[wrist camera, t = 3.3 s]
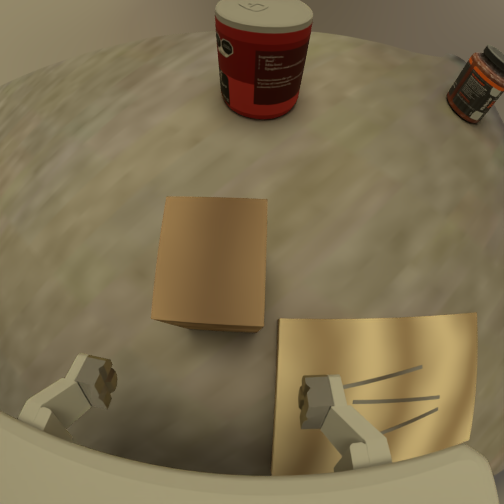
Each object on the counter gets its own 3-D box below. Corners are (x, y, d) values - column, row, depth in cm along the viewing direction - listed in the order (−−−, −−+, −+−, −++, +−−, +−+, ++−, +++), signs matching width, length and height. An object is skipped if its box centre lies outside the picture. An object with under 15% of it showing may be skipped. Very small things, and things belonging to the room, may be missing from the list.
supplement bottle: (479, 132, 29) (522, 81, 18) (445, 109, 29) (484, 50, 18) (477, 108, 30) (513, 59, 19) (445, 86, 31) (478, 33, 20)
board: (270, 470, 18) (272, 476, 17) (278, 319, 22) (279, 318, 20) (461, 437, 18) (469, 440, 17) (468, 314, 22) (477, 312, 20)
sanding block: (188, 328, 21) (151, 318, 13) (194, 250, 23) (166, 196, 14) (256, 332, 21) (263, 326, 13) (259, 253, 23) (267, 199, 14)
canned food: (238, 67, 29) (236, -14, 19) (305, 85, 29) (322, 2, 18) (208, 109, 27) (196, 18, 17) (284, 131, 27) (300, 35, 16)
